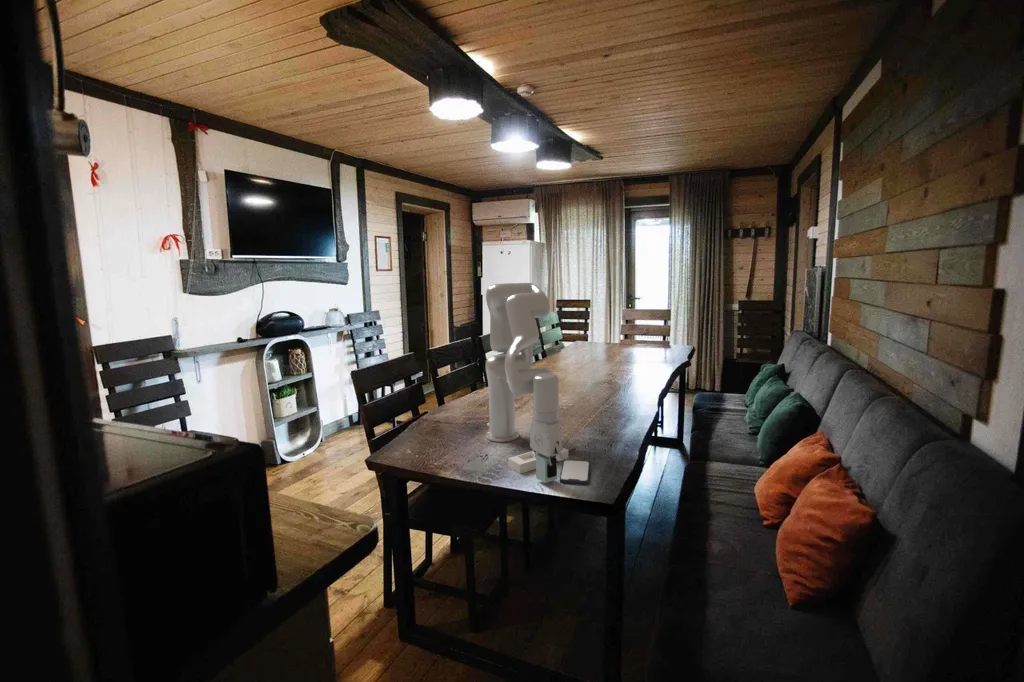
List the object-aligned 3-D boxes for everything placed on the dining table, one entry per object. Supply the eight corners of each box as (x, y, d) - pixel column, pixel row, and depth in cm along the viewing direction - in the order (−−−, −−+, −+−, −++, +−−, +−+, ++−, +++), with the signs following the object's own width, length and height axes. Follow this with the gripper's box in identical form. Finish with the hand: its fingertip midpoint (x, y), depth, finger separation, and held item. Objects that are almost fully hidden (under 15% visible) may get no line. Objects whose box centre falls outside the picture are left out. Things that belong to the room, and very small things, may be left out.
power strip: (508, 466, 162) (508, 456, 162) (569, 448, 177) (569, 438, 176) (519, 473, 157) (519, 462, 156) (581, 454, 171) (581, 444, 171)
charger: (536, 477, 151) (535, 454, 150) (547, 474, 154) (547, 450, 152) (545, 483, 147) (545, 458, 146) (557, 479, 150) (557, 455, 149)
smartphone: (563, 464, 165) (558, 484, 150) (563, 459, 165) (558, 479, 149) (590, 465, 164) (588, 486, 148) (590, 461, 163) (588, 481, 148)
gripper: (519, 410, 152) (520, 467, 155) (554, 425, 138) (554, 487, 141) (538, 406, 156) (539, 461, 159) (574, 420, 142) (574, 480, 145)
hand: (546, 473), depth 150 cm, fingers closed on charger, 4 cm apart
